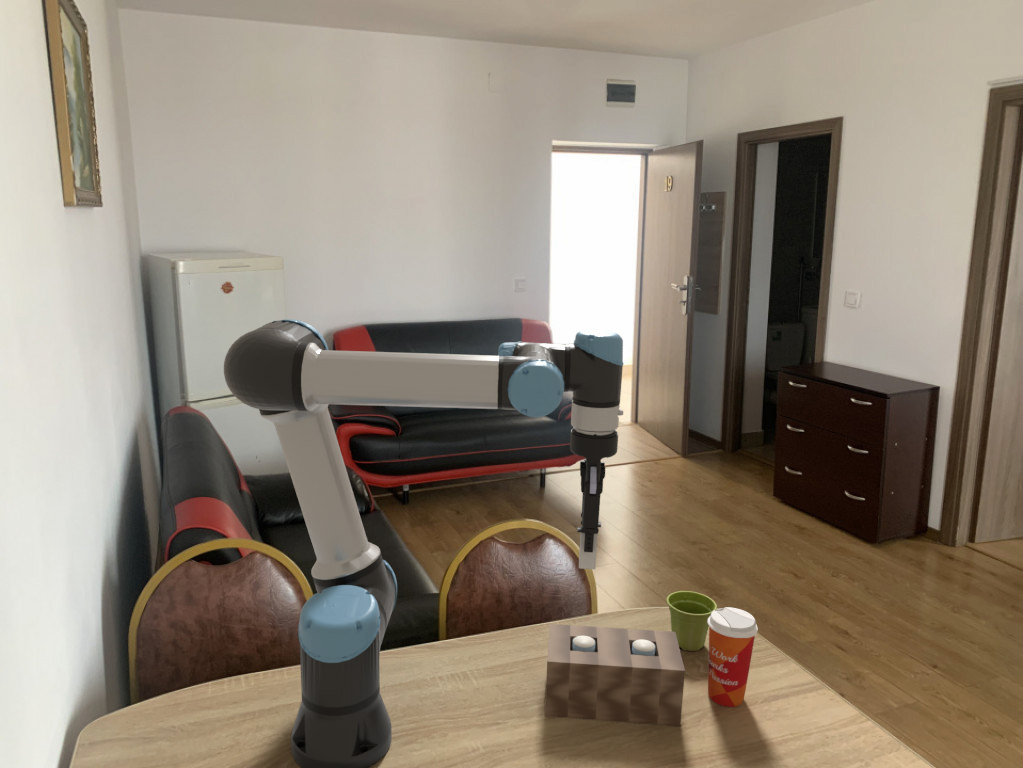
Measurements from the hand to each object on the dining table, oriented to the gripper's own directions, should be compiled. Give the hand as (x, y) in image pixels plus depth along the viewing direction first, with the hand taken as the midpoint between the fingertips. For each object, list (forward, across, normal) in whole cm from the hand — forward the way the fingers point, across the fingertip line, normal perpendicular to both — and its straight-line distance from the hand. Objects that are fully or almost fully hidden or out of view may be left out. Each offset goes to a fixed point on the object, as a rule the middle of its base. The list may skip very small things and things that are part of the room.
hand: (587, 566), depth 128 cm
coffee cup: (+24, +3, -25) cm, 35 cm away
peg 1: (+24, 0, 0) cm, 24 cm away
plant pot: (+24, +20, -21) cm, 38 cm away
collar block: (+24, 0, -5) cm, 25 cm away
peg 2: (+24, 0, -10) cm, 26 cm away
